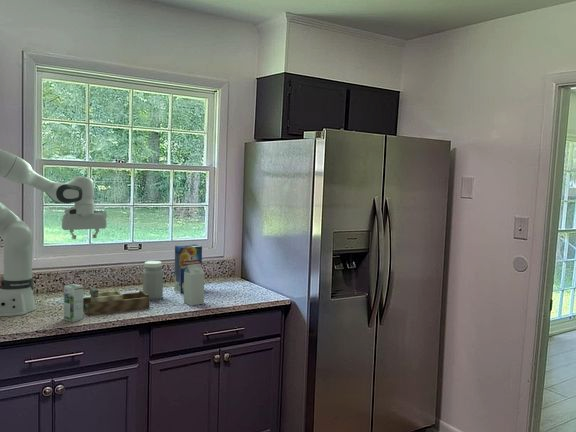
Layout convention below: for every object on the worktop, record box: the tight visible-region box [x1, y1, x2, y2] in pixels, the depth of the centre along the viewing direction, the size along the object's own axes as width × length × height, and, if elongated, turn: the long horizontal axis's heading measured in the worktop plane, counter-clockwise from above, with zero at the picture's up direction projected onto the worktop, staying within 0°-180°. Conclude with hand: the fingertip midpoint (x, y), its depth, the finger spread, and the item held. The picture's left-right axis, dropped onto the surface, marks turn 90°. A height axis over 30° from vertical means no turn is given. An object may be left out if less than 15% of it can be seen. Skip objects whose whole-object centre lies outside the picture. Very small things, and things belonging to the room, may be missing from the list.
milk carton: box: [183, 264, 205, 306], centre depth 251 cm, size 7×7×19 cm
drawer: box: [89, 286, 124, 303], centre depth 235 cm, size 13×9×9 cm
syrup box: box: [63, 283, 84, 323], centre depth 219 cm, size 6×6×14 cm
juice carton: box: [174, 244, 203, 295], centre depth 274 cm, size 12×8×24 cm, turn 128°
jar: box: [142, 260, 164, 301], centre depth 258 cm, size 10×10×18 cm
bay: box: [83, 289, 150, 317], centre depth 238 cm, size 27×12×6 cm, turn 124°
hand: (84, 238), depth 253 cm, fingers open, 8 cm apart
